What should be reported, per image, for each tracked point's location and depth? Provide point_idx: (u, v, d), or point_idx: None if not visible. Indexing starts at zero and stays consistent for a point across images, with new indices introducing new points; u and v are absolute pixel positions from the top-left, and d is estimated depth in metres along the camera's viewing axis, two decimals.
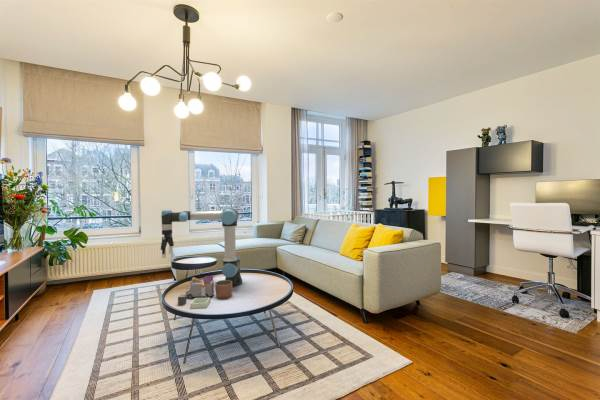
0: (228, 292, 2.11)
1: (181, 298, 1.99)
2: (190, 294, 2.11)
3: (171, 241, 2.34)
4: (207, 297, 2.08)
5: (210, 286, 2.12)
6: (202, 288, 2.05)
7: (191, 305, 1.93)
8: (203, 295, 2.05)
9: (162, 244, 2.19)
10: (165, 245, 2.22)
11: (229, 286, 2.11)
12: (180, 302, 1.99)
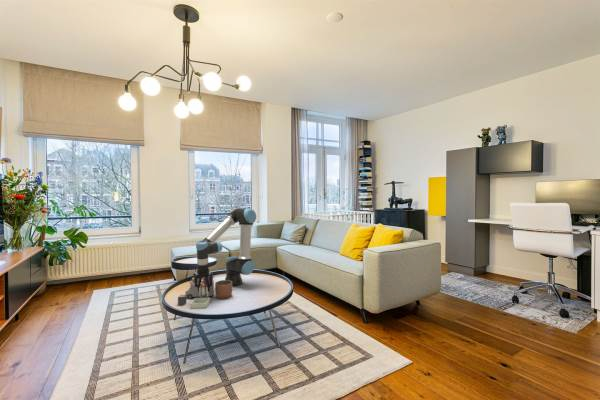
0: (228, 292, 2.11)
1: (181, 298, 1.99)
2: (190, 294, 2.11)
3: (207, 280, 2.05)
4: (207, 297, 2.08)
5: (210, 286, 2.12)
6: (202, 288, 2.05)
7: (191, 305, 1.93)
8: (203, 295, 2.05)
9: None
10: (198, 283, 2.05)
11: (229, 286, 2.11)
12: (180, 302, 1.99)
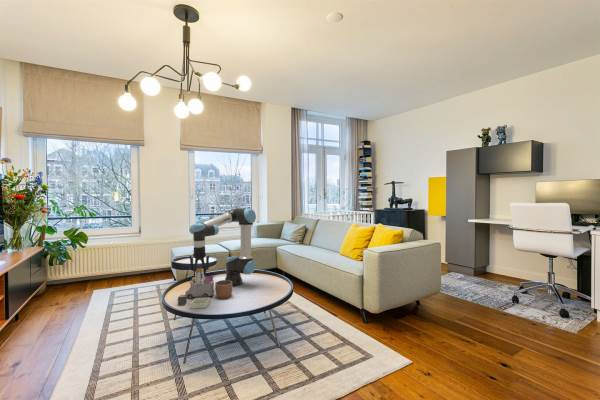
0: (228, 292, 2.11)
1: (181, 298, 1.99)
2: (190, 294, 2.11)
3: (203, 264, 1.97)
4: (207, 297, 2.08)
5: (210, 286, 2.12)
6: (198, 273, 1.96)
7: (191, 305, 1.93)
8: (198, 280, 1.96)
9: None
10: (194, 266, 1.96)
11: (229, 286, 2.11)
12: (180, 302, 1.99)
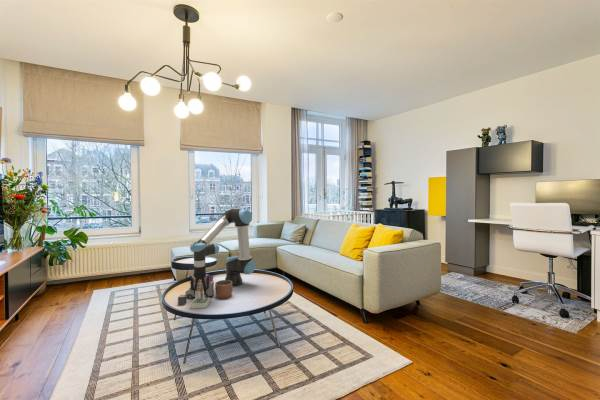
0: (228, 292, 2.11)
1: (181, 298, 1.99)
2: (190, 294, 2.11)
3: (204, 283, 1.97)
4: (207, 297, 2.08)
5: (210, 286, 2.12)
6: (198, 292, 1.96)
7: (191, 305, 1.93)
8: (199, 299, 1.97)
9: None
10: None
11: (229, 286, 2.11)
12: (180, 302, 1.99)
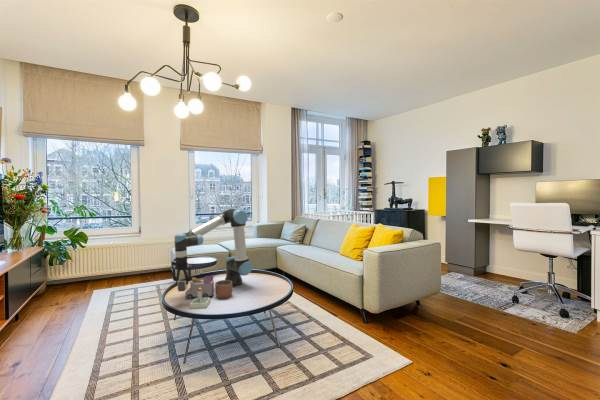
0: (228, 292, 2.11)
1: (181, 283, 1.98)
2: (190, 294, 2.11)
3: (185, 273, 2.00)
4: (207, 297, 2.08)
5: (210, 286, 2.12)
6: (198, 292, 1.96)
7: (191, 305, 1.93)
8: (199, 299, 1.97)
9: None
10: (176, 276, 1.99)
11: (229, 286, 2.11)
12: (180, 287, 1.98)
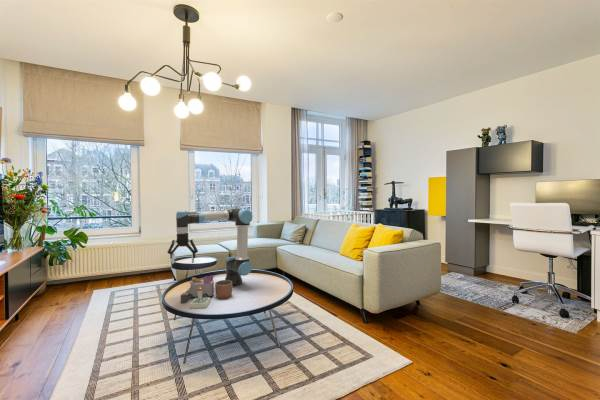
0: (228, 292, 2.11)
1: (184, 296, 2.03)
2: (190, 294, 2.11)
3: (190, 248, 2.01)
4: (207, 297, 2.08)
5: (210, 286, 2.12)
6: (199, 292, 1.96)
7: (191, 305, 1.93)
8: (200, 299, 1.97)
9: None
10: None
11: (229, 286, 2.11)
12: (183, 300, 2.03)
